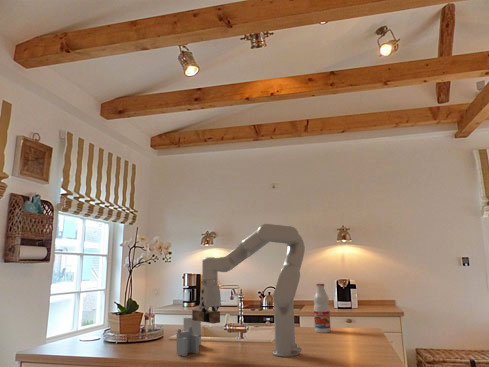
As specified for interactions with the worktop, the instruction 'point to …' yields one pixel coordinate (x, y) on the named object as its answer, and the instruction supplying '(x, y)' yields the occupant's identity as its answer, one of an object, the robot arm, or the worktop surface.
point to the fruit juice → (321, 310)
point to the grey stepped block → (187, 342)
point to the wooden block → (199, 316)
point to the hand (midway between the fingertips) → (210, 320)
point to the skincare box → (193, 326)
